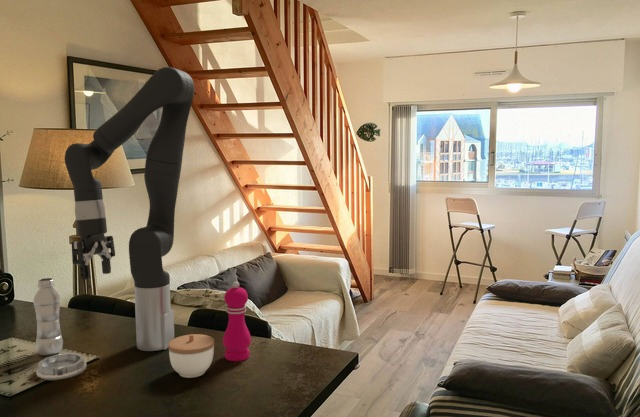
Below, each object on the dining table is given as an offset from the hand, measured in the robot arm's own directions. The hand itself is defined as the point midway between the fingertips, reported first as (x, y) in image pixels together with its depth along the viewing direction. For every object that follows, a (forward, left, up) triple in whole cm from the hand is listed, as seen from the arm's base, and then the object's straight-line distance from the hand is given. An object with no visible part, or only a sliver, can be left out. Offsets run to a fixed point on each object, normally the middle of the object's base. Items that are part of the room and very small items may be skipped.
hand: (96, 276), depth 144 cm
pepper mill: (-40, +4, -20) cm, 45 cm away
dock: (0, +18, -19) cm, 26 cm away
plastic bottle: (+10, +8, -20) cm, 23 cm away
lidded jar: (-32, +15, -20) cm, 40 cm away
